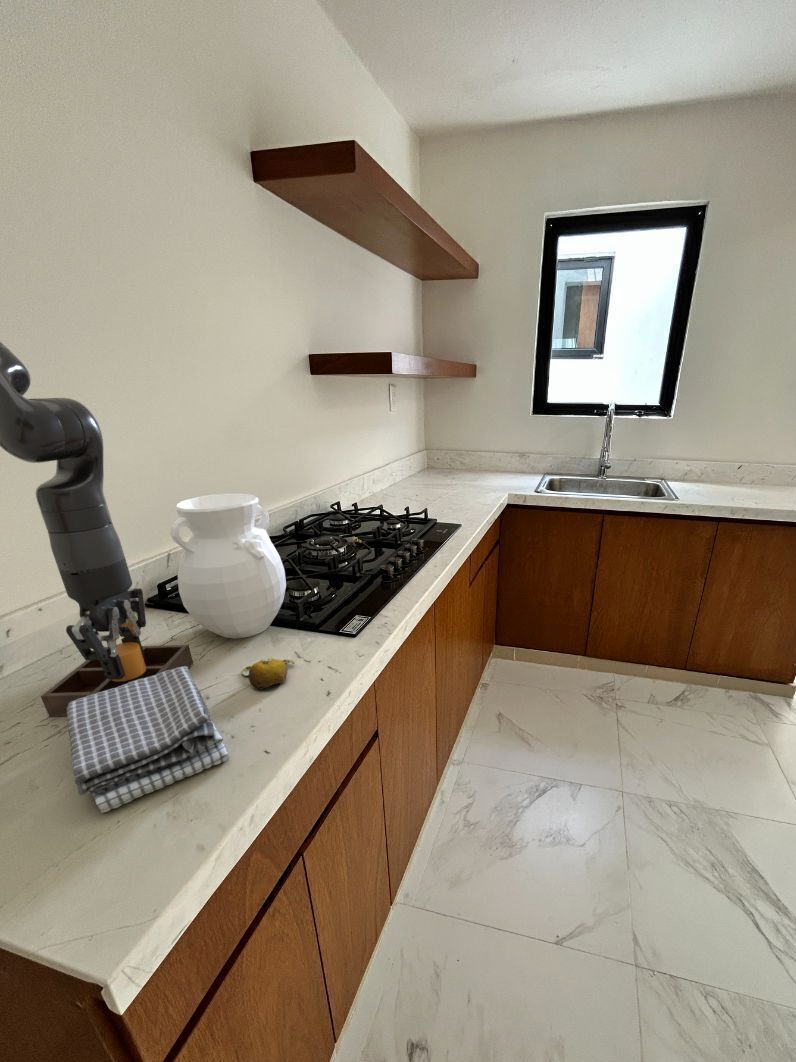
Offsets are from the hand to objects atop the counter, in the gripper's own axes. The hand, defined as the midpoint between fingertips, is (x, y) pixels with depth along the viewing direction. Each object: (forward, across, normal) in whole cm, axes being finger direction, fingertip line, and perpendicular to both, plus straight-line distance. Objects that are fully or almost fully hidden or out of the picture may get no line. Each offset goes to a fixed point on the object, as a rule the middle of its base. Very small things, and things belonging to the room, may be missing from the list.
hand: (126, 668), depth 73 cm
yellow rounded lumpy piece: (+6, -6, +19) cm, 20 cm away
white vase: (+6, -24, +8) cm, 26 cm away
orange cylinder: (+1, 0, 0) cm, 1 cm away
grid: (+6, -3, -3) cm, 7 cm away
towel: (+6, +12, +9) cm, 16 cm away
